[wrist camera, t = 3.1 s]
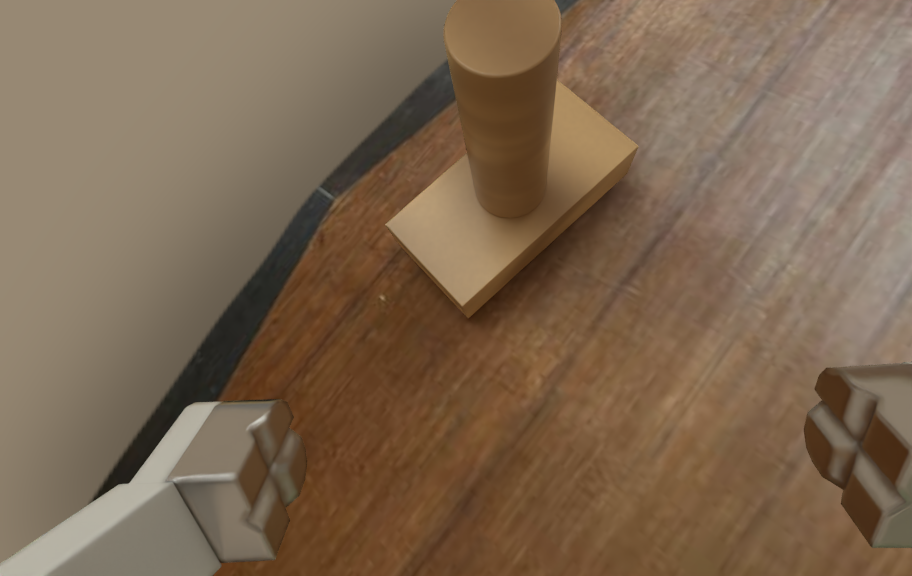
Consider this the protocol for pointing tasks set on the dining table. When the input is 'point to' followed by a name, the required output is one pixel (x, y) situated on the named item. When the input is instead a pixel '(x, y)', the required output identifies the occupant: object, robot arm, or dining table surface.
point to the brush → (508, 153)
